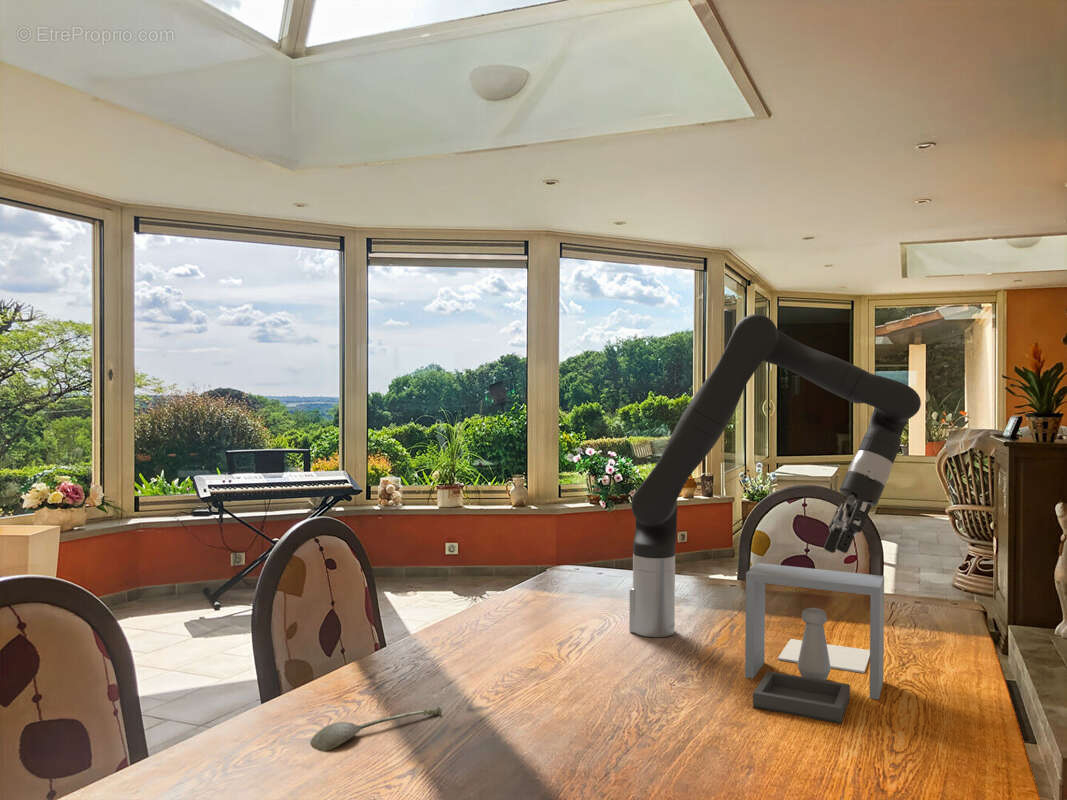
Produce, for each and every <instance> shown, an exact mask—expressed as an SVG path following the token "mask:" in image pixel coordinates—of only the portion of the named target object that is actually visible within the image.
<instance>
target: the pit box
mask: <svg viewBox="0 0 1067 800" xmlns="http://www.w3.org/2000/svg"><path fill="white" fill-rule="evenodd" d="M850 692H851V684H848V683H843V682H836V681H832V680H831V681H830V680H826V681H825V680H819V679H813V678H807V677H801V675H800V676H799V675H793V674H787V673H781V672H777V671H775V672H774V671H766V673H765V674H764V676H763V677H762V678H761V681H760V682H759V683H758V684H757V687H756V688H755V689H754V691H753V692H752V709H753V708H754V709H759V710H763V711H769V712H773V713H774V712H776V713H781V714H785V715H790V716H791V715H792V716H796V717H797V716H798V717H801V718H807V719H813V720H816V721H817V720H819V721H825V722H829V723H835V724H840V725H842V723H843V720H844V717H845V714H846V711H847V708H848V706H849V702H850V698H851V693H850Z"/></svg>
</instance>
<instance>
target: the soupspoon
mask: <svg viewBox="0 0 1067 800" xmlns="http://www.w3.org/2000/svg"><path fill="white" fill-rule="evenodd" d="M442 713H443V709H442V707H441V706H440V705H438V706H437V707H434V708H429V709H422V710H417V711H412V712H411V711H410V712H406V713H403V714H398V715H392V716H387V717H384V718H379V719H375V720H371V721H368V722H365V723H362V724H359V725H358V724H356V723H353V722H348V721H341V722H333V723H330V724H327V725H326V726H324V727H323V728H321V729H319V730H318V731H317V732H316V733H315V734H314V736H313V737H312V738H311V740H310V742H309V744H310V747H312V748H313V749H314V750H317V751H320V752H328V751H330V750H333V749H335V748H337V747H339V746H340V745H342V744H344V743H345V742H347V741H349V740H350V739H351V738H353V737H354V736H356V735H357V734H358V733H359V732H360V731H361V730H363V729H365V728H369V727H371V726H374V725H377V724H382V723H385V722H389V721H394V720H398V719H402V718H407V717H412V716H418V715H423V716H425V715H428V716H432V715H433V716H442Z"/></svg>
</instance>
